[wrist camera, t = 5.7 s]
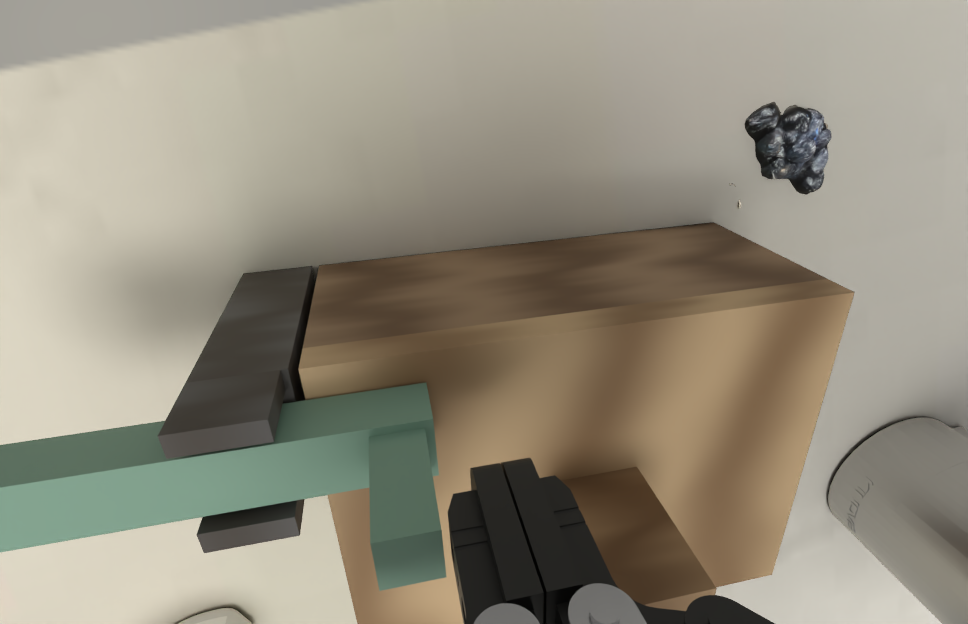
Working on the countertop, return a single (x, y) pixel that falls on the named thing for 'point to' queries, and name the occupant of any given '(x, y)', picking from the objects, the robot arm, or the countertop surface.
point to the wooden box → (424, 324)
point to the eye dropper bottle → (218, 617)
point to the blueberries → (790, 145)
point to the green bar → (241, 478)
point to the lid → (613, 431)
